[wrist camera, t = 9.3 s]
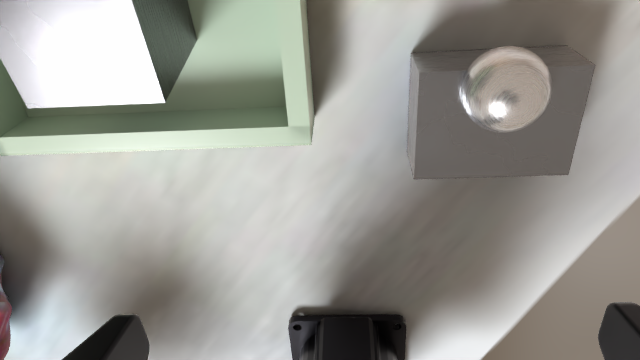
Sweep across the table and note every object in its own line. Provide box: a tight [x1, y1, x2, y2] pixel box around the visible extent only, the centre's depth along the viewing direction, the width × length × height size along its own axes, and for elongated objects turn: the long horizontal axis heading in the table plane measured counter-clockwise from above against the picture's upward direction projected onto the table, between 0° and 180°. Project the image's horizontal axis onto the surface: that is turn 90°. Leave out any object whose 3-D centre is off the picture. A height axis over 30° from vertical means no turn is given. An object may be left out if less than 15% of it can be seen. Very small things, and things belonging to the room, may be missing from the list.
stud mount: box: [407, 46, 595, 179], centre depth 18 cm, size 5×6×4 cm
